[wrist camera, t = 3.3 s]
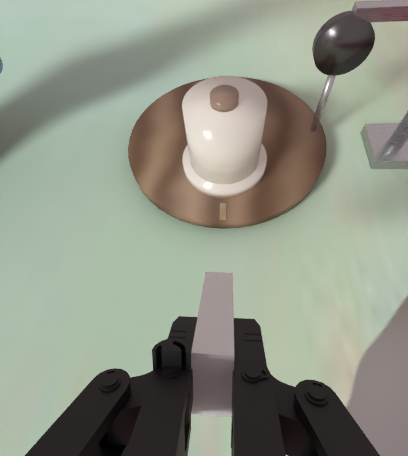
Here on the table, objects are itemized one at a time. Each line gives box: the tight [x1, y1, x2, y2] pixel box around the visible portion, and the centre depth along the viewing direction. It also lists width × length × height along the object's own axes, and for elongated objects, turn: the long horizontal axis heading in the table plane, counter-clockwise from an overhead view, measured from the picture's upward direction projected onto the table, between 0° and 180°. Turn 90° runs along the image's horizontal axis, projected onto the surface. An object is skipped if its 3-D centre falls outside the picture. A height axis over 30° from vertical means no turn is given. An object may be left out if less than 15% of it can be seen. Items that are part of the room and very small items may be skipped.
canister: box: [182, 76, 267, 198], centre depth 34 cm, size 11×11×11 cm
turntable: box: [128, 77, 326, 228], centre depth 42 cm, size 28×28×2 cm
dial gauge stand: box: [310, 0, 408, 169], centre depth 34 cm, size 18×7×20 cm, turn 87°
